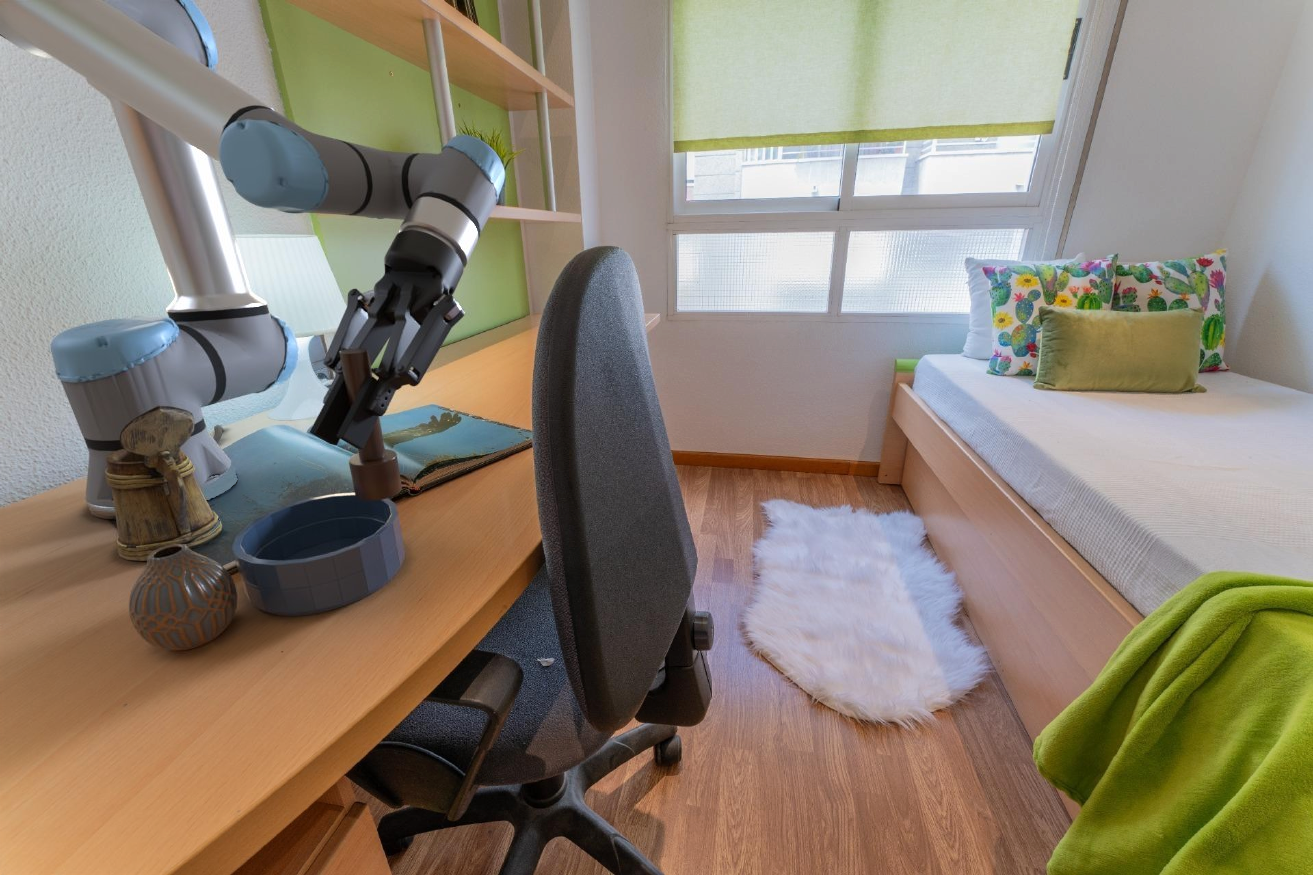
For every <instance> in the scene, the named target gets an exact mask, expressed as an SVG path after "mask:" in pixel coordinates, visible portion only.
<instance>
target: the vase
mask: <svg viewBox="0 0 1313 875" xmlns="http://www.w3.org/2000/svg"><path fill="white" fill-rule="evenodd" d="M128 600H129V601H128V614H129V618H130V620H131V624H132V625H133V627H134V630H135V631H136V633H137V634H138V635H139V636H140V637H141V638H142V639H143V640H144V641H145V642H146V643H148V644H150V645H151V646H153V647H156V648H158V649H162V650H169V651H187V650H192V649H196V648H198V647H200V646H203V645H205V644H207V643H210V642H212V640H214V639H216V638H217V637H219V636H220V635H221V634H222V633H223V632H225V630H226V629H227V627H228V626H229V625H230V624H231V622H232V620H233V618H234V617H235V615H236V611H237V607H238V590H237V587H236V583H235V582H234V579H233V577H232V575H231V574H230V572H228V570H227V569H226V568H225V567H224V566H223V565H222V564H220V563H219V562H218V561H216V560H214V559H212V558H209V557H208V556H205V555H204V554H203V555H202V554H201V553H197V552H195V551H194V550H193V549H190V548H188V547H187V546H186V545H184V544H172V545H167V546H164V547H161V548H159V549H157V550H155V551H153V552H152V553H151V554H150V555H149V556H148V560H146V564H145V567H144V568H143V570H142V572H141V573H140V575H139V576H138V578H137V579H136V581H135V583H134V584H133V587H132V589H131V590H130V594H129V599H128Z"/></svg>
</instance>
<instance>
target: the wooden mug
mask: <svg viewBox="0 0 1313 875" xmlns="http://www.w3.org/2000/svg"><path fill="white" fill-rule="evenodd" d="M193 431H194V417H193V414H192V413H191V412H189V411H187V410H184V409H180V408H176V407H171V406H157V407H155V408H153V409H151V410H149V411H147V412H145V413H143V414H142V415H140V416H138V417H136V418H135V419H133V420H132V421H131V422H129V423H128V424H127V425H126V426H125V427H124V429H123V430H122V431H121V434H120V443H121V446H122V447H123V449H121V450H118V451H115V452H113V453H111V454H110V455H109V456H108V457H107V458H106V461H107V466H108V468H107V469H106V471H105V473H106V480H107V483H108V485H110V486H111V489H112V495H113V501H114V508H115V515H116V519H115V521H116V528H117V534H118V538H117V539H116V546H117V554H118V555H119V557H120V558H122V559H123V560H127V561H140V562H144V561H146V562H147V560H148V556H149V555H150V554H151V553H152V552H153V551H155V550H157V549H159V548H161V547H164V546H167V545H172V544H184V545H186V546H187V547H188V548H190V549H191V550H193V549H196V548H199V547H201V546H203V545H205V544H207V543H208V542H211V541H212V540H213V539H214V538H216V537H217V536H218V535H219V534H220V533H221V532H222V529H223V524H222V522H221V521H220V525H219V526H218V527H217V528H216V529H215V530H214V531H213V532H211V531H212V530H213V529H214V528H215V526H216V524H217V522H218V518H219V516H218V514H217V513H216V512H215V511H214V510H212V509H211V507H210V504H209V503H208V501H206V499H205V497H204V495H203V493H202V491H201V489H200V487H199V485H198V484H197V482H196V480H195V477H194V475H193V473H192V472H194V470H195V467H194V465H193V464H192V462H191V461H190V459H189V458H188V456H187V455H184V454H183V452H182V451H181V449H180V447H181V446H182V445H183V444H184V443H185V442H186V441H187V440H188V439H189V438H190V436H191V434H192V432H193ZM210 532H211V533H210ZM209 533H210V534H209ZM206 535H207V536H206Z"/></svg>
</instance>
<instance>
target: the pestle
mask: <svg viewBox="0 0 1313 875" xmlns="http://www.w3.org/2000/svg"><path fill="white" fill-rule="evenodd" d="M339 353H340V359H341V364H342V369H343V374H344V379H345V385H346V390H347V395H348V400H349V406H350V408H351V406H352V404H353V402H354V400H355V398H356V397H357V395H358V393H359V391H360V389H361V387H362V385H363V383H364V381H365V379H366V377H367V376H371V377H373V373H372V371H371V368H372V366H371V365H370V359H369V353H368V350H367V349H346V350H342V351H340V352H339ZM357 452H358V453H356V454H353V455H352V456H350V457H349V459H348V466H349V470H350V471H349V472H350V476H351V481H352V485H353V490H354V493H355V496H356V497H357V498H358V499H360V500H363V501H377V500H383V499H387V498H388V499H391V498H392V497H394V496H396V495H398V494H399V493H400V492H401V491H402V489H403V485H402V479H401V472H400V467H399V461H398V454H397V452H396V451H394V450H392V449H388V448H387V449H386V448H385V442H384V436H383V431H382V424H381V418H380V416H379V417H378V419H377V421H376V423H375V425H374V427H373V429H372V432H371V434H370V436H369V438H368V440H367V442H366V444H365V446H364V448H363V449H357Z"/></svg>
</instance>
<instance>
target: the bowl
mask: <svg viewBox="0 0 1313 875" xmlns="http://www.w3.org/2000/svg"><path fill="white" fill-rule="evenodd" d="M399 516H400V515H399V511H398V506H397V503H395V502H394V501H392V500H391V498H387V499H383V500H377V501H363V500H360V499H358V498H357V497H356V496H355V492H342V493H332V494H326V495H321V496H316V497H310V498H307V499H303V500H299V501H296V502H293V503H292V502H291V503H289V504H286V505H284V506H283V505H282V506H281V507H278V508H276V509H274V510H271V511H269V512H267V513H265V514H263V515H261V516H260V517H258V518H256V519H255V520H253V521H251V522H249V523H247V525H245V526H244V527H243V528H242V529H241V530H240V531H239V532H238V533H237V534H236V535H235V536H234V539H233V542H232V545H231V552H232V555H233V557H234V558H233V559H234V561H235V565H236V568H237V571H238V574H239V577H240V580H241V583H242V587H243V590H244V593H245V596H246V597H247V599H248V602H249V603H250V604H251V605H252V606H254V607H255V608H258V609H260V610H261V611H263V612H266V613H268V614H273V615H276V616H283V617H284V616H285V617H286V616H288V617H296V616H309V615H315V614H320V613H326V612H329V611H332V610H336V609H339V608H342V607H345V606H348V605H351V604H353V603H356V602H358V601H360V600H363V599H364V598H366V597H368V596H370V595H372V594H374V593H375V592H377V591H378V590H380V589H382V587H384V586H385V585H387V584H388V583H389V582H390V581H391V580H392V579H393V578H394V577H395V575H396V574H397V573H398V572H399V570H400V569H401V567H402V565H403V562H404V561H405V559H406V550H405V545H404V539H403V532H402V527H401V526H402V525H401V521H400V517H399Z"/></svg>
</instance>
